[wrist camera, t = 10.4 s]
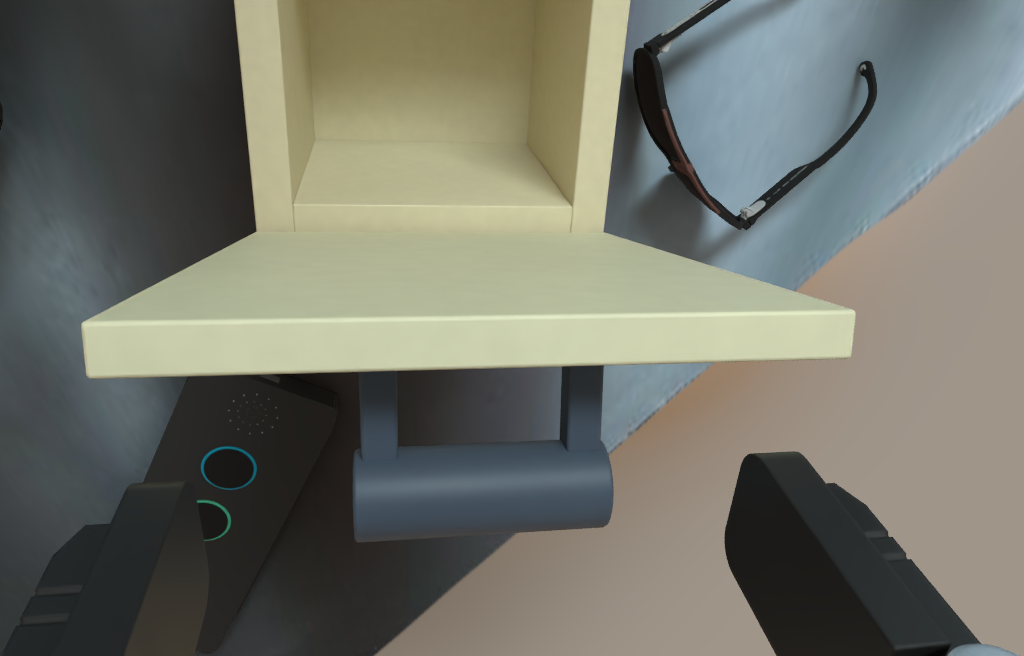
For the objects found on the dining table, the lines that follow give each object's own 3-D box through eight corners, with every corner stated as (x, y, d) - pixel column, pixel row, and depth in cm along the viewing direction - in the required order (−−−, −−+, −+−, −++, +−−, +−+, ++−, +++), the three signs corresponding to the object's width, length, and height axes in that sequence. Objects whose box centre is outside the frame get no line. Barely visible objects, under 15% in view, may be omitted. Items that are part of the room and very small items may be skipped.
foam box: (264, -205, 30) (206, -279, 20) (572, -177, 32) (657, -231, 22) (290, 159, 37) (257, 239, 27) (546, 163, 39) (602, 240, 29)
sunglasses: (591, 63, 37) (632, 71, 32) (790, -86, 36) (860, -100, 32) (686, 231, 41) (733, 257, 37) (862, 99, 41) (931, 110, 37)
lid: (77, 321, 11) (109, 620, 12) (858, 310, 13) (829, 566, 14) (254, 231, 26) (261, 368, 27) (607, 232, 28) (601, 360, 29)
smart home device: (345, 413, 41) (216, 657, 48) (346, 396, 43) (221, 635, 49) (192, 358, 39) (78, 626, 45) (199, 343, 40) (88, 604, 47)
